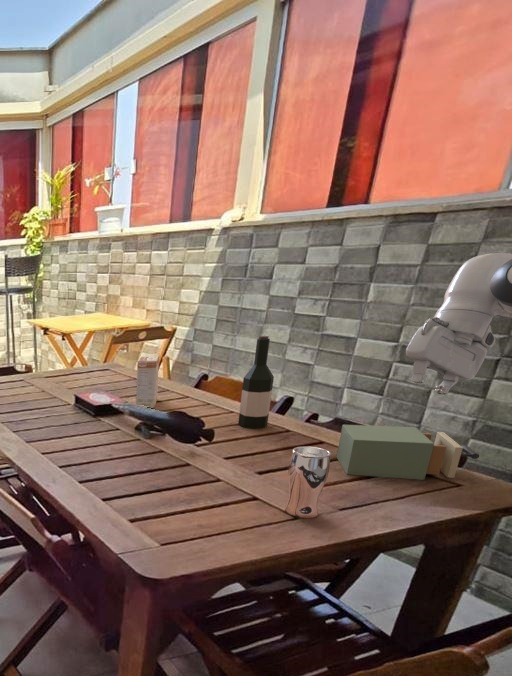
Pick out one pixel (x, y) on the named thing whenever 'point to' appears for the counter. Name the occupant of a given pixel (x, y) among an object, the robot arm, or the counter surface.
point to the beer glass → (306, 480)
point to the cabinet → (384, 451)
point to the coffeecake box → (147, 379)
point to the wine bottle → (257, 389)
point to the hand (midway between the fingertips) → (428, 388)
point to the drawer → (447, 455)
